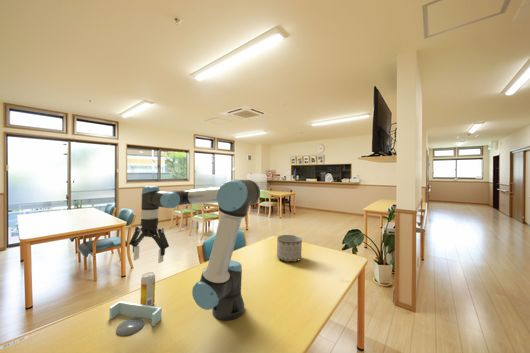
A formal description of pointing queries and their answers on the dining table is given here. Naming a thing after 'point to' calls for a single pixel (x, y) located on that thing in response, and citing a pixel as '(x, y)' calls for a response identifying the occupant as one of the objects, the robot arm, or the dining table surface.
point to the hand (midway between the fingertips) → (148, 260)
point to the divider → (136, 311)
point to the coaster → (130, 326)
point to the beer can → (148, 289)
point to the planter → (289, 247)
